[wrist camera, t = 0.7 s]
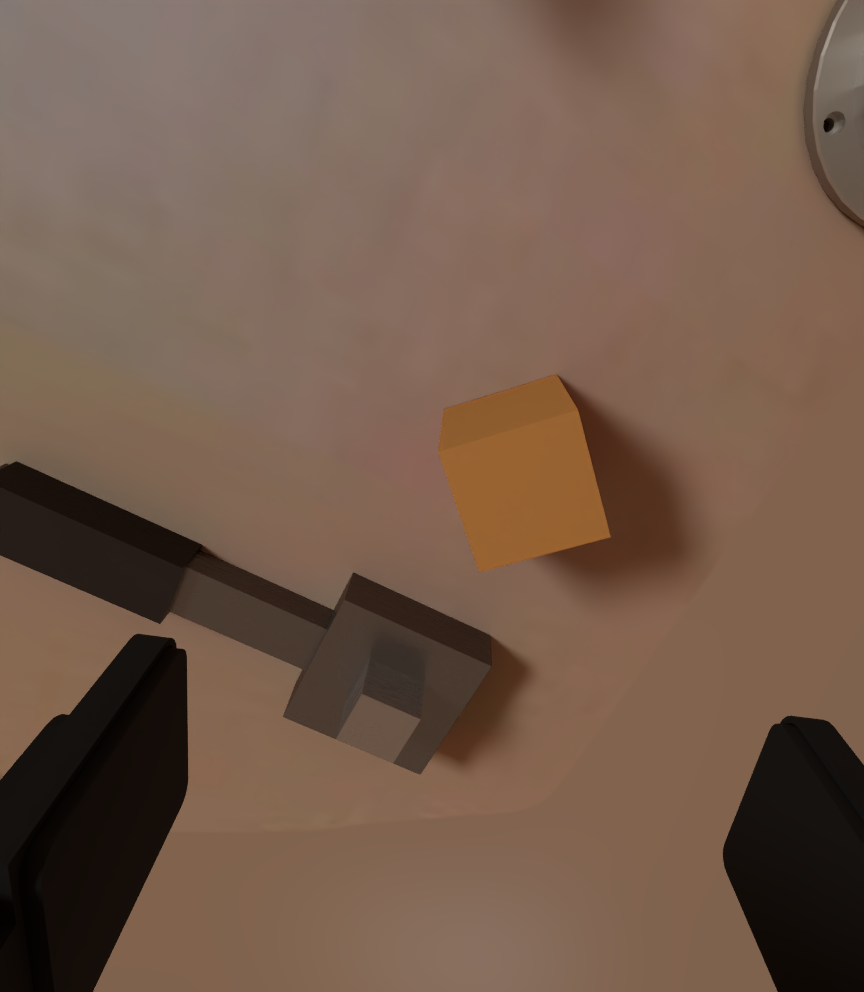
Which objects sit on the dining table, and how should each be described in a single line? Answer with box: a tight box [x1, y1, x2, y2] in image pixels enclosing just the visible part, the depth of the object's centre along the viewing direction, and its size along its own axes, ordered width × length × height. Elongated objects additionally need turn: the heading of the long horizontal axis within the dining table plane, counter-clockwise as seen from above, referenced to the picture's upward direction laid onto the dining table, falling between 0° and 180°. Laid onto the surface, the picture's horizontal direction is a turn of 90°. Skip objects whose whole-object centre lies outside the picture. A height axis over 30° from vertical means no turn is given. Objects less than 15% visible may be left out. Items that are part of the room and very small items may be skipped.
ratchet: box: [0, 462, 492, 774], centre depth 36 cm, size 29×9×6 cm, turn 63°
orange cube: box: [438, 374, 611, 572], centre depth 32 cm, size 6×6×7 cm
